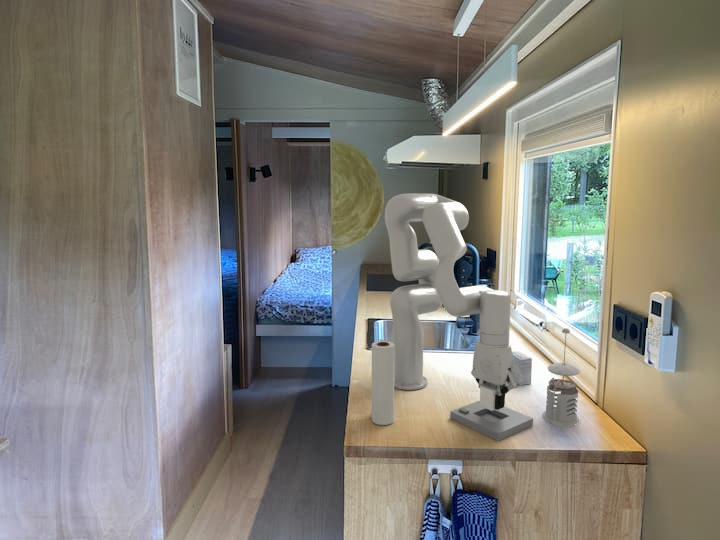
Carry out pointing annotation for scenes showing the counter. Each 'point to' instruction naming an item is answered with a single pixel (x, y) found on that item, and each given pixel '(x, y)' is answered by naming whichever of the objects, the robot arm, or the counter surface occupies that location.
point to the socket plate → (491, 420)
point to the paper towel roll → (383, 382)
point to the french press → (562, 394)
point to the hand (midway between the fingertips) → (492, 404)
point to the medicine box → (521, 368)
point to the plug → (488, 395)
